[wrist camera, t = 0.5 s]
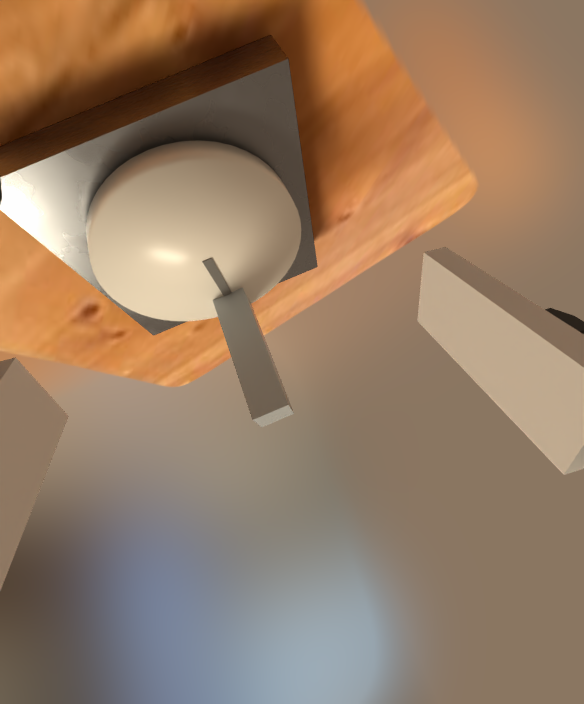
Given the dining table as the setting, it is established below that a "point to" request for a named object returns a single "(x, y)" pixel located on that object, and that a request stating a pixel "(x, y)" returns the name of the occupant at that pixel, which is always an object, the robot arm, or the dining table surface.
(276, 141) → the dial housing
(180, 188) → the dial
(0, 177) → the coffee cup
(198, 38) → the dining table surface
